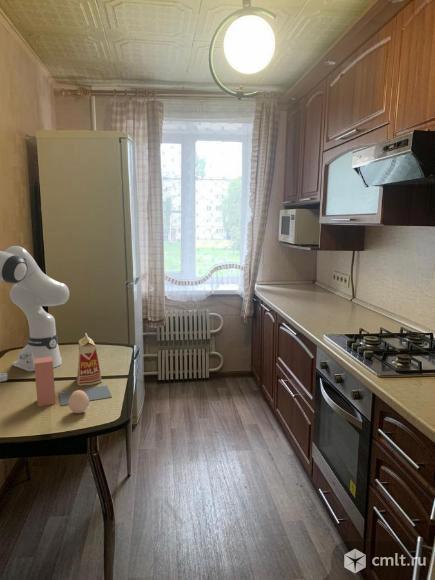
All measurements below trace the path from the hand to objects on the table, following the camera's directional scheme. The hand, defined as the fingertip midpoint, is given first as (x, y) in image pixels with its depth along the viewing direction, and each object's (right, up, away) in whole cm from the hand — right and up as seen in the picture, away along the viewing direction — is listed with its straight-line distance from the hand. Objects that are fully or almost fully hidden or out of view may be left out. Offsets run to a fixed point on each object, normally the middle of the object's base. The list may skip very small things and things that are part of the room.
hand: (7, 376), depth 144 cm
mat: (+24, -10, +12) cm, 28 cm away
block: (+11, -11, +6) cm, 17 cm away
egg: (+26, -12, -2) cm, 29 cm away
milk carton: (+21, -8, +26) cm, 34 cm away
